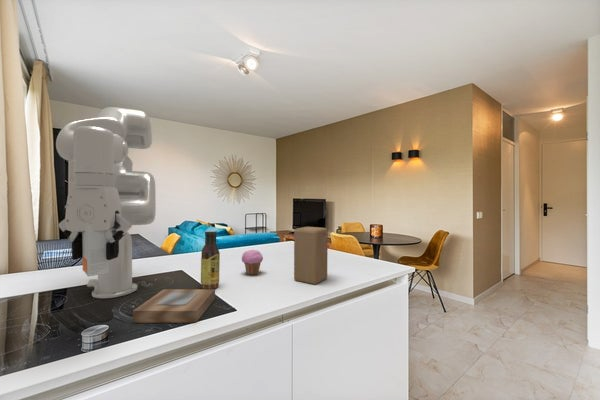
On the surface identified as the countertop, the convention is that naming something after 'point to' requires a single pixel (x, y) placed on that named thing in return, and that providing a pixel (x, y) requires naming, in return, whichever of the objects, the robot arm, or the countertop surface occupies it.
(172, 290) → the walnut picture frame
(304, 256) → the wooden block
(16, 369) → the countertop surface
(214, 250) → the sauce bottle
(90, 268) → the skincare box
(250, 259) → the cupcake
